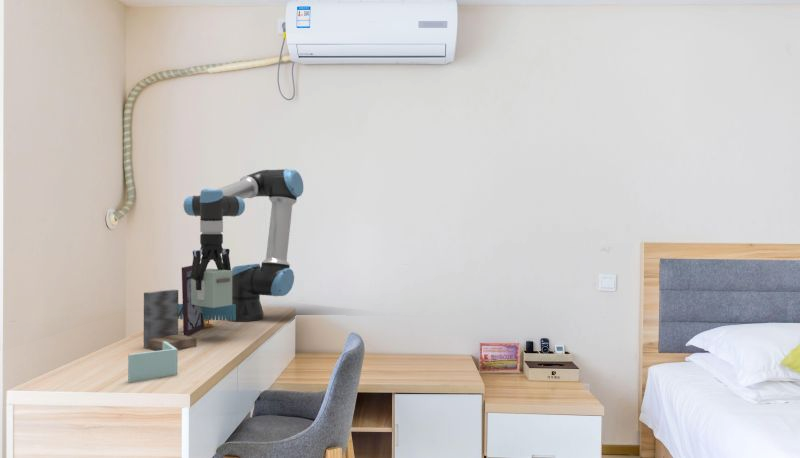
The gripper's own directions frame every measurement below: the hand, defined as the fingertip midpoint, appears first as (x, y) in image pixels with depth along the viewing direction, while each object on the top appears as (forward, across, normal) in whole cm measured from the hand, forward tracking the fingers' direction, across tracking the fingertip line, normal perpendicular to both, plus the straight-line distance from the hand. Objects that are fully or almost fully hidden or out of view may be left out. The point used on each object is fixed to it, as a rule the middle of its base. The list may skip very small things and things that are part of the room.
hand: (211, 297), depth 194 cm
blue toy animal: (+15, -12, -21) cm, 29 cm away
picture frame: (+15, -2, -19) cm, 24 cm away
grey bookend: (+15, +15, 0) cm, 21 cm away
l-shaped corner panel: (+15, +38, +22) cm, 46 cm away
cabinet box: (+2, 0, 0) cm, 2 cm away
